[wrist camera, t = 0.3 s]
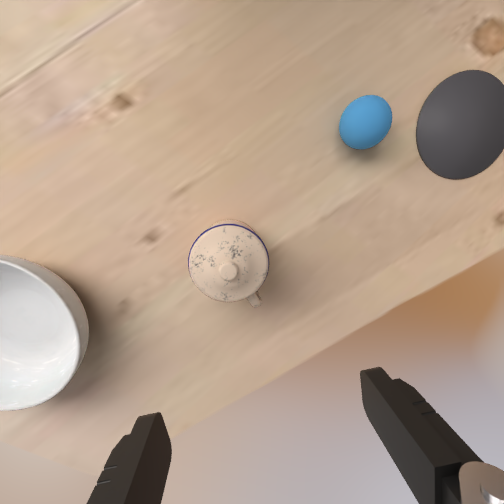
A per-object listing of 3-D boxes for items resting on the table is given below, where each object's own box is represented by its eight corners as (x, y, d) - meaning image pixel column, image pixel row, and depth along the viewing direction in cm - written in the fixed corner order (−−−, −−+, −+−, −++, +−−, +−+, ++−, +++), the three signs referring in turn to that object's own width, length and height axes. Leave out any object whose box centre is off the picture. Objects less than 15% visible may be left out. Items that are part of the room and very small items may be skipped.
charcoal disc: (422, 71, 33) (423, 70, 33) (520, 70, 34) (521, 69, 33) (411, 180, 36) (412, 180, 36) (501, 177, 37) (503, 177, 36)
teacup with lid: (186, 237, 35) (164, 256, 24) (241, 205, 35) (245, 209, 24) (229, 304, 38) (227, 349, 27) (281, 275, 38) (301, 309, 26)
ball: (332, 105, 33) (353, 86, 27) (376, 105, 33) (406, 85, 27) (331, 153, 34) (351, 144, 28) (373, 152, 35) (401, 143, 29)
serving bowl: (-79, 308, 35) (-153, 334, 28) (24, 213, 33) (-29, 217, 27) (40, 399, 39) (1, 441, 33) (137, 319, 38) (116, 346, 31)
